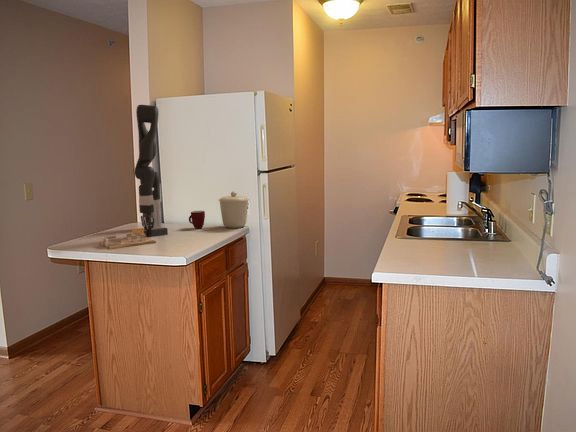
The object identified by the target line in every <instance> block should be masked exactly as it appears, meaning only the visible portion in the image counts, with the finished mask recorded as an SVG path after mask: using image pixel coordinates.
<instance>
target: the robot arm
mask: <svg viewBox="0 0 576 432" xmlns="http://www.w3.org/2000/svg"><path fill="white" fill-rule="evenodd" d="M135 114H136V122H137V130H138V151H139V152H138V159H137V162H136V164H135V168H134V176H135V178H136V179H138V180H139V183H140V184H139V186H138V194H139V195H138V205H139V206H138V208H139V213H140V214H142V215H140V221H141V226H142V227H143V229H144V230H147V236H151V235H152V232H151V229H156V228H162V212H161V211H162V209H161V208H162V207H161V195H160V193H161V192H160V191H161V190H160V185H161V184H160V183H161V182H160V180H161V179H160V174H159V172H157V171H155V169H154V168H153V167H152V166H150V164H151V163H152V162H153V160H154V159H155V157H156V155H157V143H156V140H155V137H156V133H157V129H158V128H157V127H158V122H159V108H158V106H156V105H153V104H151V105H150V104H138V105H137V106H136V113H135ZM146 124H150V127H149V130H148V129H147V127H146Z"/></svg>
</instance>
